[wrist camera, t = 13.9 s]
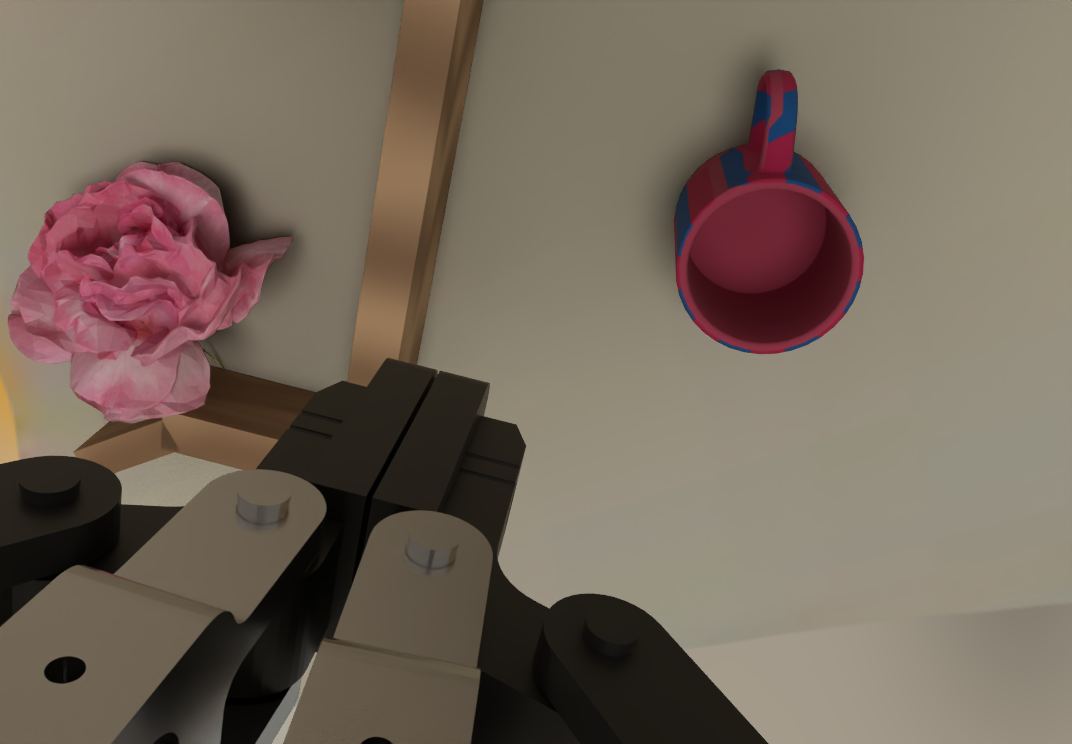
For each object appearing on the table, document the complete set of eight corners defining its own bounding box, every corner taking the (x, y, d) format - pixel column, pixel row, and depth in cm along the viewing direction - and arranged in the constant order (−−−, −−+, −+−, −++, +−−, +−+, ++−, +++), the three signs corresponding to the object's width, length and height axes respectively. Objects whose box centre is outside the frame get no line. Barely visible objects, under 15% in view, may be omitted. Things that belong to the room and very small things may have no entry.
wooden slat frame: (155, -227, 37) (83, -253, 32) (509, -142, 37) (487, -156, 32) (127, 427, 49) (72, 475, 45) (392, 495, 49) (364, 551, 44)
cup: (661, 283, 43) (661, 340, 36) (704, 50, 38) (712, 68, 32) (812, 306, 42) (838, 367, 36) (871, 72, 38) (912, 95, 32)
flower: (121, 152, 47) (79, 74, 37) (305, 254, 49) (310, 206, 39) (-8, 355, 45) (-89, 328, 35) (189, 454, 46) (164, 454, 37)
